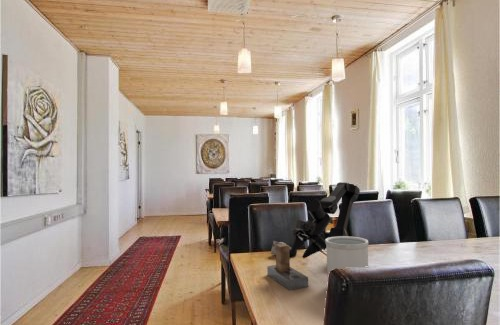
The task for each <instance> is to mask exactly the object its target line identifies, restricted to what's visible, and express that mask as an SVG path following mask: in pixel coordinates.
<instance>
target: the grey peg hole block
mask: <svg viewBox="0 0 500 325" xmlns="http://www.w3.org/2000/svg"><path fill="white" fill-rule="evenodd" d="M266 269H267V271H266V272H267V276H269V277H270V279H273V280H274V281H276V282H278V283H279V285H282V286H283V287H285V289H287V290H289V291H291V290H293V291H294V290H297V289H304V288H307V287H309V276H307V275H305V274H303V273H302V272H301V271H298V270H297V269H295V268H293V267H291V266H290V271H284V272H279V271H277V270H276V264H274V265H268V266H267V268H266Z"/></svg>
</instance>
